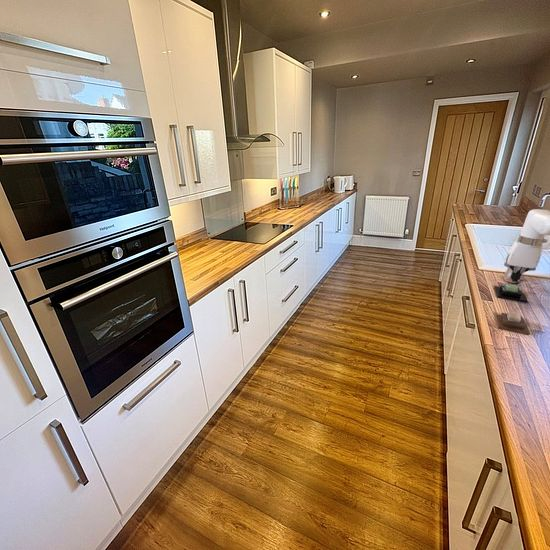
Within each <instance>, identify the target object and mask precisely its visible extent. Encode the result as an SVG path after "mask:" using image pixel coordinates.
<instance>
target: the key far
mask: <svg viewBox="0 0 550 550" xmlns="http://www.w3.org/2000/svg"><path fill="white" fill-rule="evenodd" d="M505 286H506V287H505V288H506V291H512V292H517V291H518V288H519V287H518V286H517V285H513V284H508V283H507V284H505Z"/></svg>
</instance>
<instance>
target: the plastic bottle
mask: <svg viewBox="0 0 550 550" xmlns="http://www.w3.org/2000/svg"><path fill="white" fill-rule="evenodd" d="M519 269H520V267H518V268H517V271H518V270H519ZM511 274H512V270H511V268H508V267H506V271H505V272H504V274H503V276H502V277H503V280H504V281H505V282H506V283H511V284H518V283H519V282H520V281H521V280H522V275H523V274H522V275H521V277H520V280H518V281H517V282H515V281H512V279H511V278H510V277H511Z"/></svg>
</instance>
